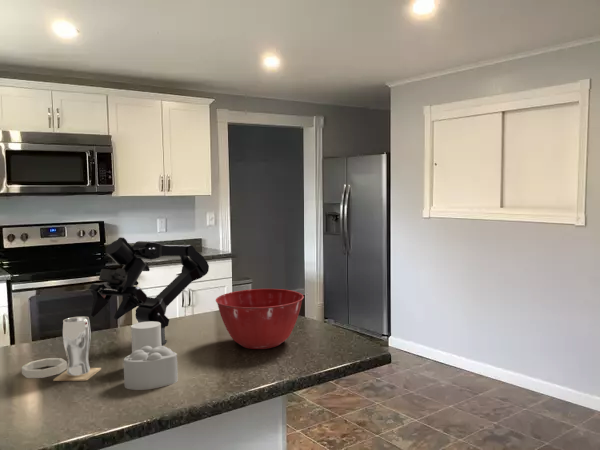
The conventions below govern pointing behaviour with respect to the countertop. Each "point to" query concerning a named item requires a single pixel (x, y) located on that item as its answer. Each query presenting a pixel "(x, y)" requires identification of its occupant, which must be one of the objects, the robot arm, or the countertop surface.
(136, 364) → the lumpy-topped squat cylinder
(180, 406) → the countertop surface
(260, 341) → the mixing bowl
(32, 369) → the holder ring
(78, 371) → the beer glass
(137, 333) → the cup
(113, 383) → the countertop surface
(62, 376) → the coaster
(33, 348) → the countertop surface
